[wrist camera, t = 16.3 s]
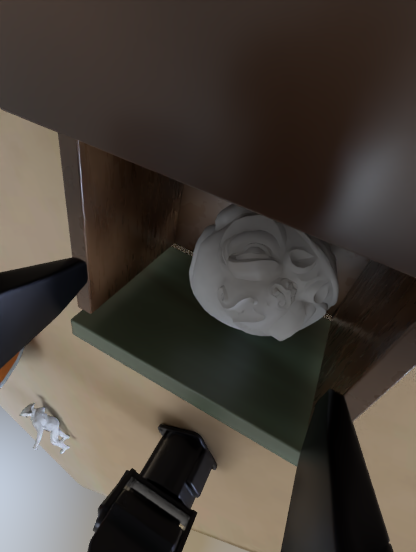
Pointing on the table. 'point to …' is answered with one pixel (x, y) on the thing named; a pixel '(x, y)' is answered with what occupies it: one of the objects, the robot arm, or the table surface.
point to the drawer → (207, 329)
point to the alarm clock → (9, 368)
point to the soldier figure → (45, 426)
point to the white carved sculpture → (262, 274)
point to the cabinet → (238, 102)
